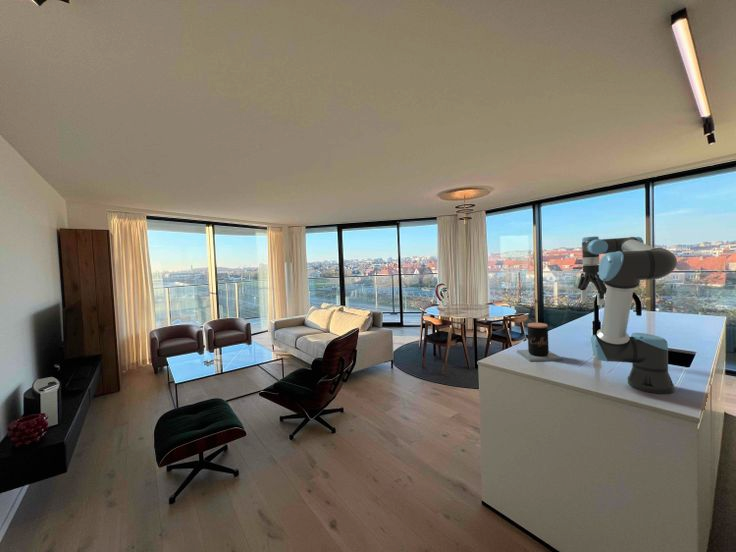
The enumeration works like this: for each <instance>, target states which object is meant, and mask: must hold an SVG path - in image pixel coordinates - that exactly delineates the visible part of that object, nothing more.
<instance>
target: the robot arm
mask: <svg viewBox="0 0 736 552" xmlns="http://www.w3.org/2000/svg"><path fill="white" fill-rule="evenodd" d="M581 249H582V250H581V251H582V252H581V253H582V254H581V255H582V273H581V274H580V278H579V282H578V286H577V288H578V289H579V290H580V302H584V303H585V302H587V301H588V293H587V292H588V291H587V288H588V286H589V284H590V283H592V284H593V285H594V287H595V288H596V290H597V292H596V295H597V296H596V297H597V298H596V299H597V300H596V301H597V302H596V303H597V304H596V305H597V306H604V308H603V314H602V315H603V317H602V322H601V323H602V324H601V328H600V329H598V330H597V331H596V334H593V335H591V337H590V342H591V348H592V351H593V354H594V357H595V359H596V360H598V361H600V362H608V363H609V362H610V363H611V362H613V363H628V364H629V363H630V364H631V365H632V366H631V370H630V371H629V374H628V376H627V384H628V385H629V386H630V387H632V388H634V389H637V390H639V391H643V392H647V393H652V394H653V393H654V394H658V395H659V394H663V395H665V394H667V395H668V394H673V393H674V392H675V385H674V383H673V380H672V378H671V375H670V374H669V347H668V340H666V339H665V338H664V337H661V336H658V335H655V334H649V333H643V332H633V333H631V336H630V335H629V334H628V332H627V329H628V325H629V324H628V323H629V319H630V311H631V305H632V301H633V295H634V290H635V289H636V288H638V287H639V286H640V283H641V281H642V280H643V281H645V280H648V281H649V280H659V279H661V278H664V277H666V276H668V275H670V274H672V273H673V271H674V270H675V269H676V267H677V264H678V260H677V257H676V255H675V254H674V253H673V252H672V251H670V250H669V249H666V248H662V247H653V246H651V245H649V244H647V243H644V240H643V238H642V237H640V236H629V237H618V238H617V237H616V238H603V239H600V238H599V236H596V235H595V236H586V237H582V239H581ZM600 255H603V256H601V259H600ZM604 298H605V299H604ZM604 300H605V301H604Z"/></svg>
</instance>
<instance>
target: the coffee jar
mask: <svg viewBox="0 0 736 552" xmlns="http://www.w3.org/2000/svg"><path fill="white" fill-rule="evenodd" d="M526 325H527V347H528V348H527V350H528V351H529V353H530V354H531V355H534V356H547V355H548V353H549V351H550V350H549V329H548V326H549V325H548V324H547V323H543V322H529V323H527V324H526Z"/></svg>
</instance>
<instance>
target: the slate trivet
mask: <svg viewBox="0 0 736 552" xmlns="http://www.w3.org/2000/svg"><path fill="white" fill-rule="evenodd" d="M516 353H517V354H519V356H521V357H523V358H524V359H525V360H527V361H529V362H530V363H533V361H535V362H553V361H554V360H561V361H563V358H562V357H560V355H557V354H555V353H553V352H552V351H550V350H549V353H548V355H547V356H534V355H531V354H530V353H529V351H528V349H518V350H516ZM554 362H555V361H554Z"/></svg>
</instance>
